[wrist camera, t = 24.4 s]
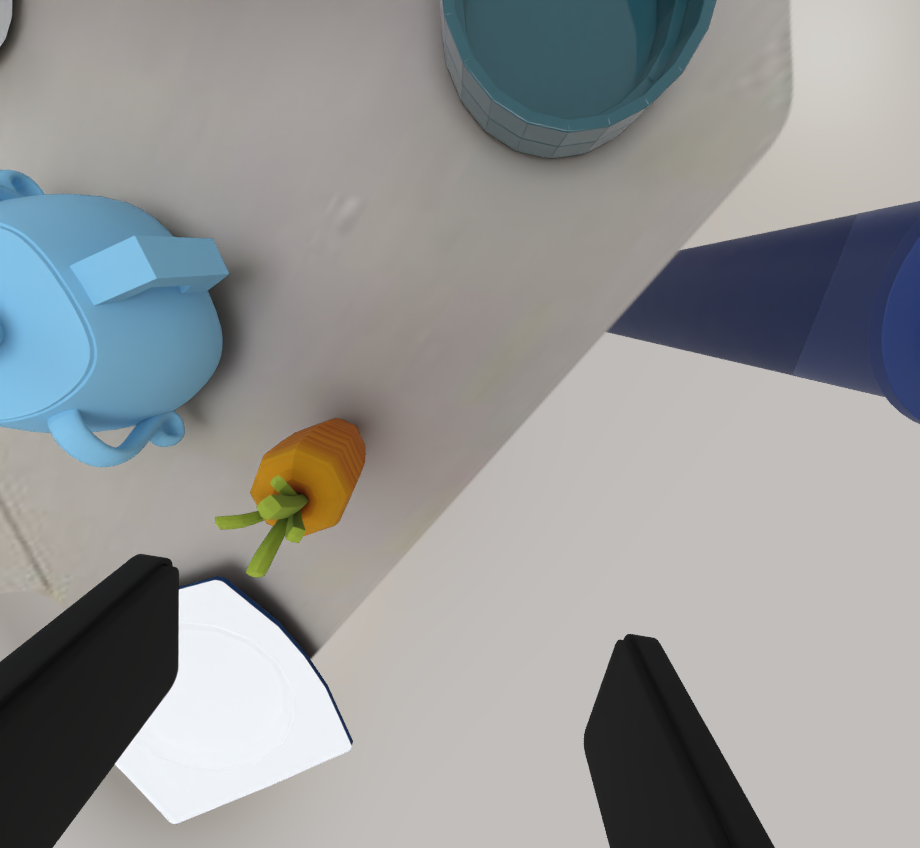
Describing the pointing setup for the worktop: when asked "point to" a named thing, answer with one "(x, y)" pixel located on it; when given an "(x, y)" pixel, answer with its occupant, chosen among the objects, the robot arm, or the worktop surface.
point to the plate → (232, 709)
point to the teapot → (100, 320)
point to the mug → (5, 18)
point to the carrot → (302, 486)
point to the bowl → (566, 65)
